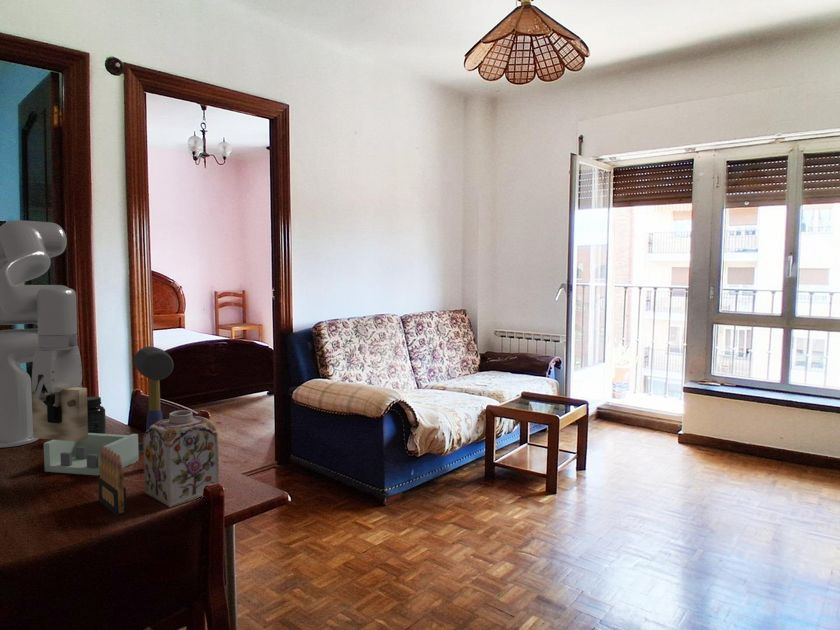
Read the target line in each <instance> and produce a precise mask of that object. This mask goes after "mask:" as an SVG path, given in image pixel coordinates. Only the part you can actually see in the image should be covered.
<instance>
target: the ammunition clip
mask: <svg viewBox="0 0 840 630" xmlns="http://www.w3.org/2000/svg"><path fill="white" fill-rule="evenodd" d="M99 469H100V476H99V477H98V483H97V484H98V502H99V503H100V504H102V505H103V506H104V507H105V508H107V509H108V510H109V511H110V512H112V513H113V514H114V515H115V516H121V515H124V514H127V513H128V512H127V489H126V487H125V478H124V477H125V476H124V475H125V474H124V469H123V468H122V460H121V457H120V455H118V456H117V454H116V453H114V452H113V451H111V450H110V449H108V448H107V447H105V446H104V445H103V446H102V448H101V454H100V466H99Z"/></svg>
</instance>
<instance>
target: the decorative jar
mask: <svg viewBox="0 0 840 630" xmlns="http://www.w3.org/2000/svg"><path fill="white" fill-rule="evenodd" d="M193 414H194V413H193V411H191V410H185V409H184V410H181V409H180V410H174V411H172V412H169V415H168V417H169V418H165V419H163V420H160V421H157V422H156V423H154V424H153V425H152V426H150V428H149V429H148V430H147V431H145V432H144V434H142V435H143V436H142V437H143V440H142V442H143V451H144V452H143V481H144V492H145V495H147V496H150V497H151V498H153V499H155V500H156V501H158V502H161V503H162V504H164V505H165V506H167V507H169V508H173V507H175V506H179V505H181V504H184V503H185V504H186V503H187V502H191V501H194V500H195V501H196V500H197V498H198V499H200V498H199V497H201V496H202V492H203V489H204V487H205V486H207V485H209V484H215V483H219V484H220V457H219V456H220V455H219V454H220V453H219V451H220V450H219V448H220V447H219V432H218V431H217V429H216V427H215V426H214V424H213V422H212V421H211V419H209V418H206V417H203V416H198V415H193ZM201 498H202V497H201Z"/></svg>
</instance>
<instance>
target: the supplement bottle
mask: <svg viewBox="0 0 840 630" xmlns="http://www.w3.org/2000/svg"><path fill="white" fill-rule="evenodd" d="M87 414H88V433H98V434H107V424H106V422H107V421H106V409H105V407H104V406H102V397H100V396H87Z"/></svg>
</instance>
